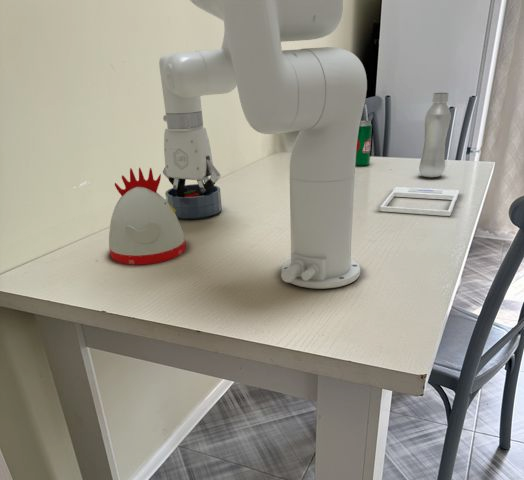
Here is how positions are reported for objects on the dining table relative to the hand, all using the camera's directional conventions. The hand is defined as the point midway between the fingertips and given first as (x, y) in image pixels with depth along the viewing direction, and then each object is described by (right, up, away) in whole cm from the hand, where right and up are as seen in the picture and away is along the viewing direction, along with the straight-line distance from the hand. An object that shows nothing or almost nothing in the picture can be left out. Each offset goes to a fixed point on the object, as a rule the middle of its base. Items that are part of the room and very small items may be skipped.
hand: (194, 207), depth 116 cm
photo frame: (+51, +1, -1) cm, 51 cm away
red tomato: (0, -1, 0) cm, 1 cm away
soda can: (+45, +23, +37) cm, 62 cm away
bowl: (0, -1, +1) cm, 1 cm away
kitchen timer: (-6, -14, -20) cm, 25 cm away
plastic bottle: (+60, +13, +20) cm, 65 cm away
